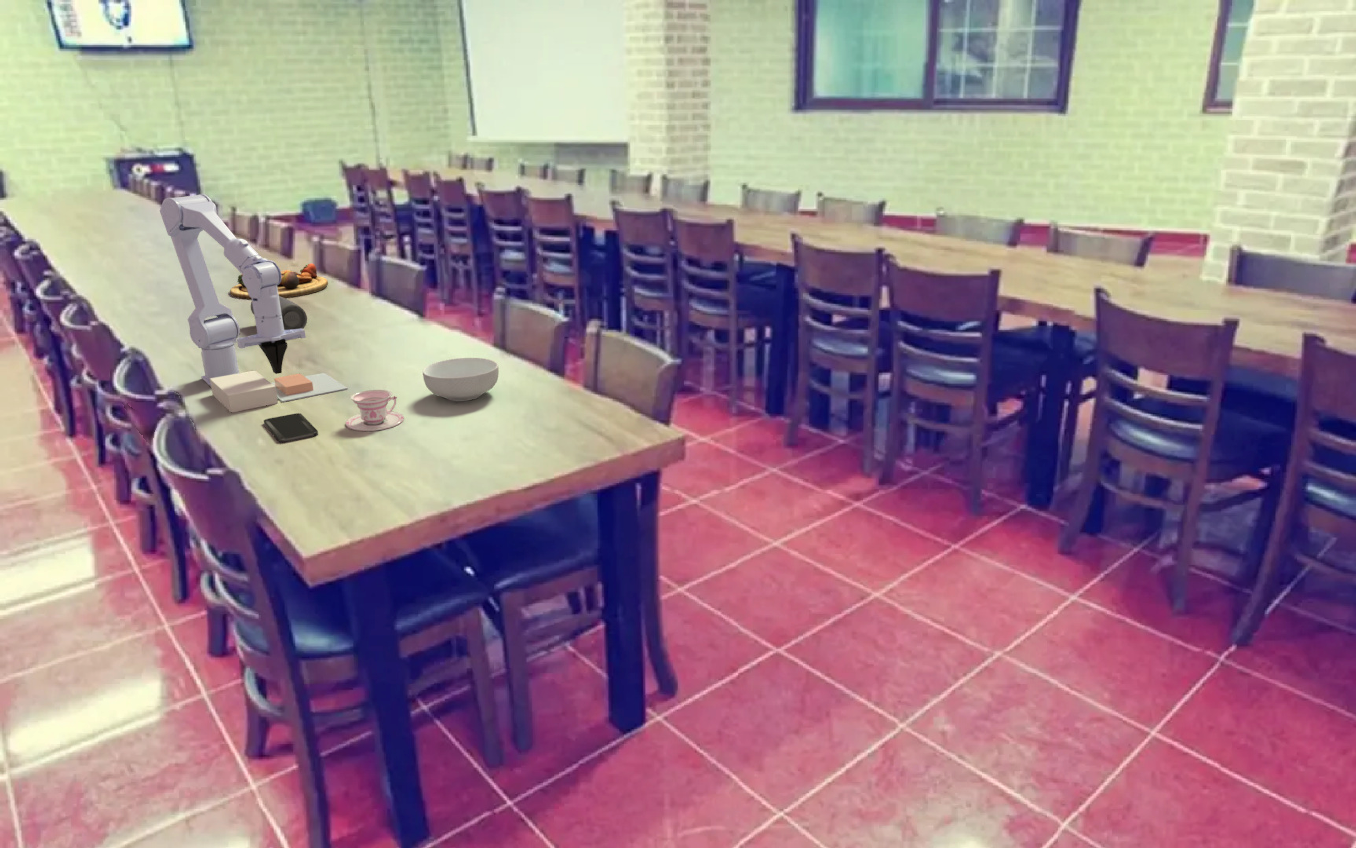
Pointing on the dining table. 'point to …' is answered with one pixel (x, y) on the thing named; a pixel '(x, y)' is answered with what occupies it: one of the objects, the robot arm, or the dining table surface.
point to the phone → (290, 428)
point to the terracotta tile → (293, 384)
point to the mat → (320, 386)
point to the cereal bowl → (461, 378)
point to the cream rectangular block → (243, 391)
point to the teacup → (374, 411)
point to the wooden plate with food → (289, 283)
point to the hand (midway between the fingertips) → (277, 372)
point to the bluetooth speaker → (291, 314)
